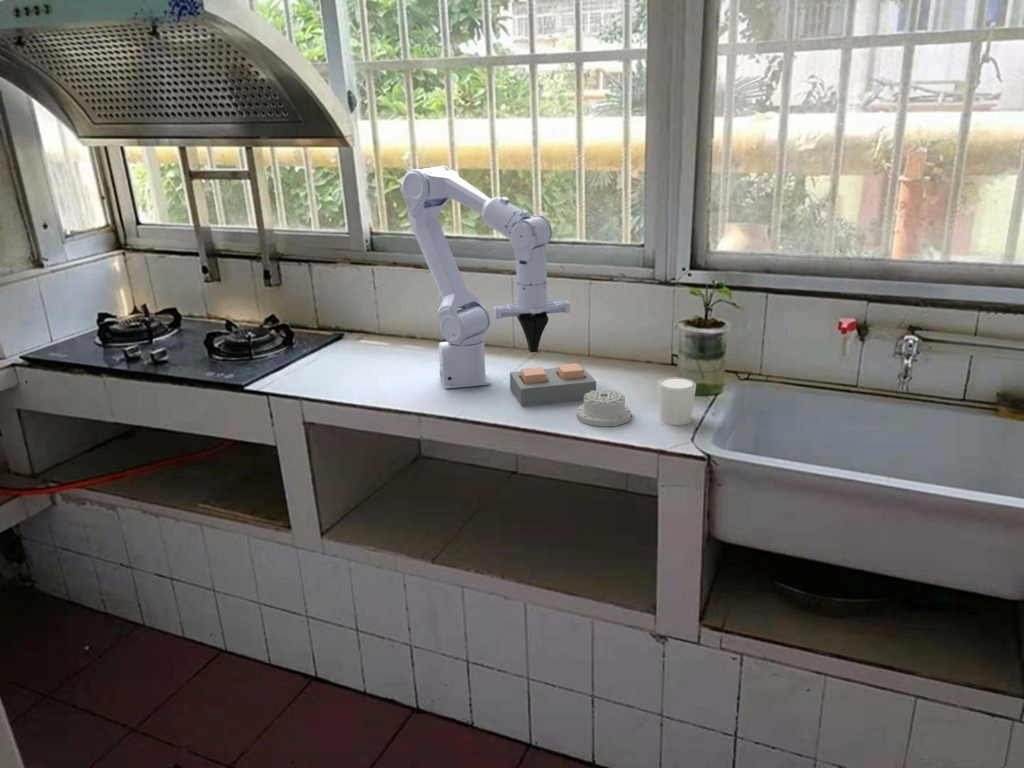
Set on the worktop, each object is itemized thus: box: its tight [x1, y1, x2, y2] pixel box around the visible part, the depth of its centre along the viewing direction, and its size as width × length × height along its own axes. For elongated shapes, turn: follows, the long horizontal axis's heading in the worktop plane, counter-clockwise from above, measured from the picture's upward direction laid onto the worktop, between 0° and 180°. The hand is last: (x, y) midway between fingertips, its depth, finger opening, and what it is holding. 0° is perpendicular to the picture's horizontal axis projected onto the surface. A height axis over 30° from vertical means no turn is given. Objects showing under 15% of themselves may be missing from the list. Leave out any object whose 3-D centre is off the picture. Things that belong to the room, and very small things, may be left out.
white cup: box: [657, 376, 697, 426], centre depth 143 cm, size 7×7×7 cm
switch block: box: [509, 364, 597, 407], centre depth 158 cm, size 15×10×4 cm, turn 102°
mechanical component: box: [576, 388, 632, 428], centre depth 146 cm, size 10×4×10 cm
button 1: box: [520, 366, 547, 384], centre depth 157 cm, size 4×4×3 cm
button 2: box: [557, 363, 584, 380], centre depth 158 cm, size 4×4×3 cm
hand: (533, 350), depth 155 cm, fingers closed
